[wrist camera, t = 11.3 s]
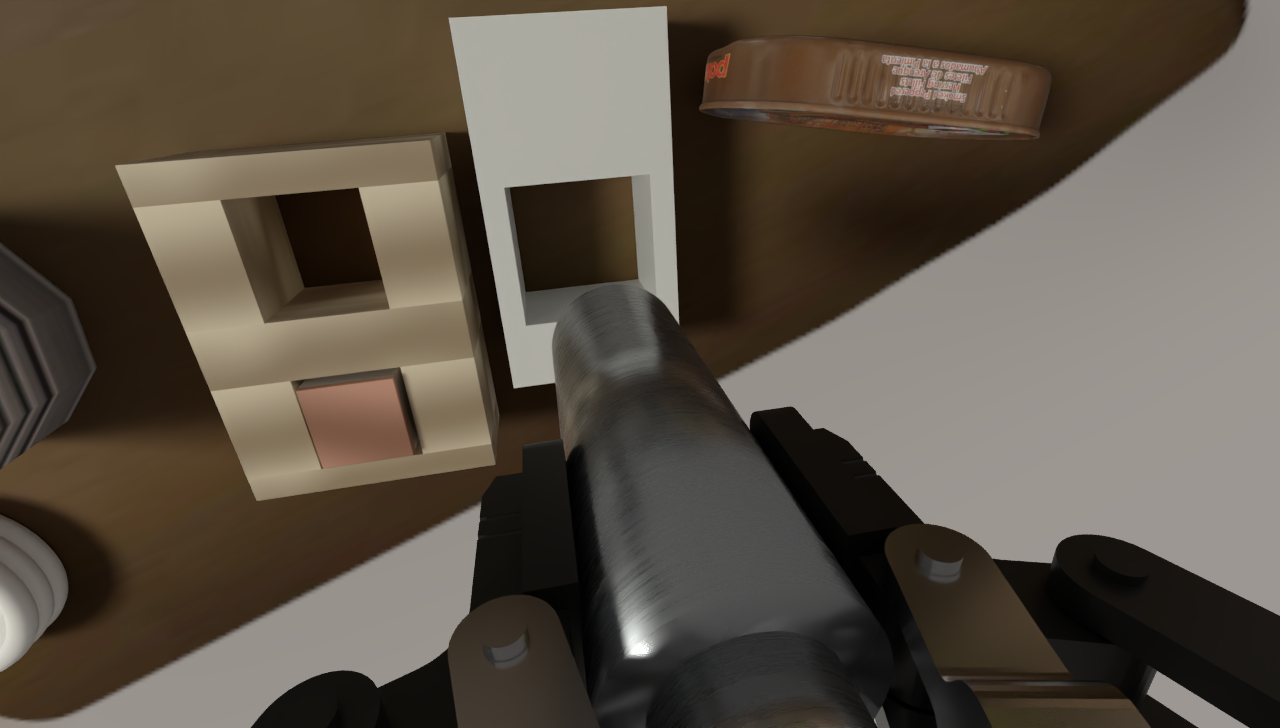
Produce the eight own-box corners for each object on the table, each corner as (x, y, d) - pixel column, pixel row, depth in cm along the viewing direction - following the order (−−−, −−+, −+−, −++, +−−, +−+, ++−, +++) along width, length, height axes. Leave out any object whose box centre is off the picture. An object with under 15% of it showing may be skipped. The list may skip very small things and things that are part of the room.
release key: (327, 350, 29) (295, 391, 25) (410, 340, 30) (392, 378, 26) (349, 420, 31) (322, 468, 27) (427, 409, 32) (413, 455, 28)
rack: (461, 31, 26) (448, 18, 21) (642, 20, 27) (666, 6, 22) (515, 347, 32) (513, 388, 28) (659, 328, 33) (680, 365, 29)
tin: (678, 113, 29) (733, 121, 21) (686, 40, 28) (748, 20, 20) (950, 141, 32) (1083, 156, 24) (968, 76, 30) (1115, 70, 23)
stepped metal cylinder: (543, 291, 16) (597, 858, 4) (676, 277, 16) (1066, 746, 5) (559, 410, 17) (631, 1071, 6) (680, 394, 18) (980, 972, 6)
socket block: (186, 152, 26) (115, 165, 21) (445, 132, 27) (429, 140, 23) (294, 444, 32) (256, 500, 28) (499, 414, 34) (495, 464, 29)
